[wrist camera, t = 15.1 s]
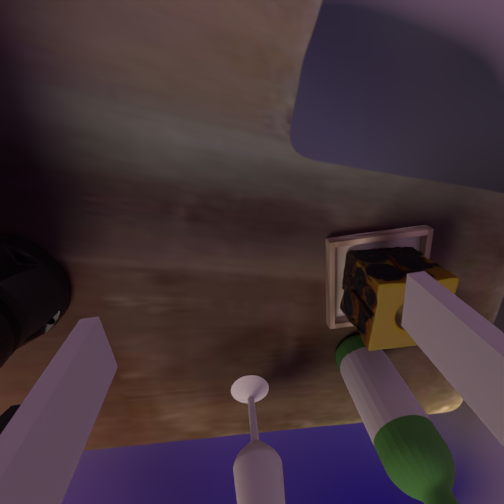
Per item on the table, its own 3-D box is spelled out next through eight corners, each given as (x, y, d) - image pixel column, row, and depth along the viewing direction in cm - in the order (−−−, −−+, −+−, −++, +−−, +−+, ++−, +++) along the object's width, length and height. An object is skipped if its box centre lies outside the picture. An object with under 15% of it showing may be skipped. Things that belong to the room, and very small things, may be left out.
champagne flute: (244, 408, 56) (258, 596, 34) (223, 387, 54) (223, 575, 32) (276, 391, 55) (311, 574, 33) (255, 369, 53) (279, 550, 31)
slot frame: (326, 322, 50) (329, 329, 48) (325, 238, 44) (329, 242, 42) (414, 309, 50) (421, 315, 49) (426, 224, 44) (433, 228, 43)
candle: (338, 308, 48) (365, 353, 39) (344, 249, 44) (375, 284, 35) (401, 303, 49) (442, 346, 40) (413, 244, 45) (461, 277, 36)
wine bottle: (384, 353, 54) (552, 601, 26) (344, 374, 55) (466, 632, 28) (366, 323, 51) (534, 569, 23) (325, 346, 52) (438, 605, 25)
